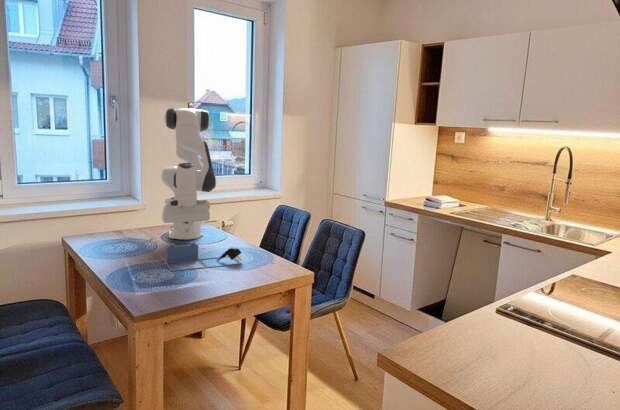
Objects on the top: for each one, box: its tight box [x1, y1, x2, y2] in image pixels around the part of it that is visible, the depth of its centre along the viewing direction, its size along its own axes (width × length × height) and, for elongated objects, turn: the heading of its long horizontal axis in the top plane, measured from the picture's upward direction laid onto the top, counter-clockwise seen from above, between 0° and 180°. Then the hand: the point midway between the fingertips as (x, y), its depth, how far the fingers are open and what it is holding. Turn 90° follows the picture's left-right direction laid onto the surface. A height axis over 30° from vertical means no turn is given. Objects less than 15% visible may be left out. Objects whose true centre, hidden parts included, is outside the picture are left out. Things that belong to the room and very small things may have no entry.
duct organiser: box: [164, 241, 243, 272], centre depth 202 cm, size 15×32×8 cm, turn 118°
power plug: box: [216, 246, 243, 263], centre depth 204 cm, size 6×8×12 cm
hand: (186, 231), depth 196 cm, fingers closed
